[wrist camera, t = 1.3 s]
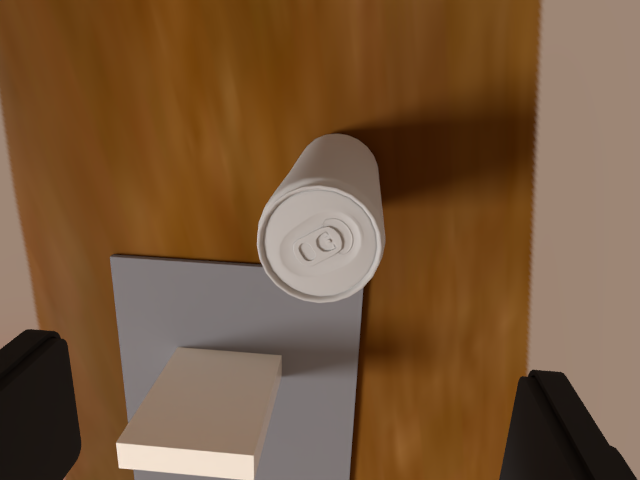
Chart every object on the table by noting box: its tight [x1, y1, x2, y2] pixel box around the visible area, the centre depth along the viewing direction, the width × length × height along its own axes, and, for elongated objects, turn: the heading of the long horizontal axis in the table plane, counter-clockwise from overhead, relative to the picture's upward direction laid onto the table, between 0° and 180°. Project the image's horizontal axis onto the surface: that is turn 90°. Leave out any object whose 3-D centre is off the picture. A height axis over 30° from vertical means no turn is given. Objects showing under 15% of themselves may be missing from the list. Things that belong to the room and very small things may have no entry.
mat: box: [110, 254, 363, 480], centre depth 35 cm, size 20×16×1 cm
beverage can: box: [257, 134, 385, 303], centre depth 24 cm, size 5×5×12 cm
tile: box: [116, 347, 282, 480], centre depth 30 cm, size 2×7×9 cm, turn 88°
